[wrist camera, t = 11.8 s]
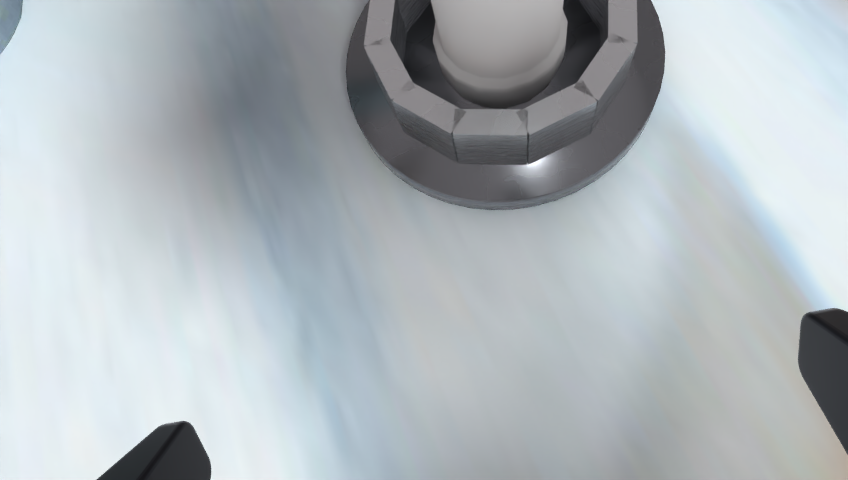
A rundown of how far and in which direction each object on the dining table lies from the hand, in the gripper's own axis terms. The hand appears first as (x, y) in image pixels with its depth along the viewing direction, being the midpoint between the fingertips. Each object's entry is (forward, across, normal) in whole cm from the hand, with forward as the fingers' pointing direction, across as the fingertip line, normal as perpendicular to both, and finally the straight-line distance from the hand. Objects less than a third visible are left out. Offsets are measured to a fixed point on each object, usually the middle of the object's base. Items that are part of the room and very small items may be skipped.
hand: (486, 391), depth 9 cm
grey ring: (+20, -3, 0) cm, 20 cm away
